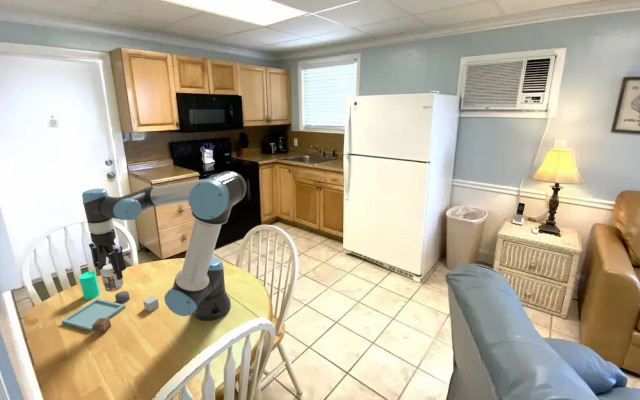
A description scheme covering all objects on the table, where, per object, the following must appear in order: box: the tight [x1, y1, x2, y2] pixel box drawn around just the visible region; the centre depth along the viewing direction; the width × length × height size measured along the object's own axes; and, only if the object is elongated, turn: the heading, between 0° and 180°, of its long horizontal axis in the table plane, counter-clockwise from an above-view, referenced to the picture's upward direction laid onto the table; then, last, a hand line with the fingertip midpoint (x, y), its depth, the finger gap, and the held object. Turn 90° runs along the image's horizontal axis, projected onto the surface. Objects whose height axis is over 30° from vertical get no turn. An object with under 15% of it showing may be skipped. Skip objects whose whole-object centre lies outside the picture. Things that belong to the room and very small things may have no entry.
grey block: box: [143, 295, 160, 313], centre depth 132 cm, size 4×4×4 cm
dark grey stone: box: [114, 290, 131, 304], centre depth 137 cm, size 5×5×3 cm
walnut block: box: [92, 318, 112, 335], centre depth 119 cm, size 4×4×4 cm
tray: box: [61, 297, 126, 332], centre depth 127 cm, size 15×15×2 cm
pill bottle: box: [101, 263, 123, 293], centre depth 121 cm, size 6×6×10 cm
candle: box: [78, 271, 101, 300], centre depth 138 cm, size 6×6×12 cm
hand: (113, 284), depth 122 cm, fingers closed on pill bottle, 6 cm apart
